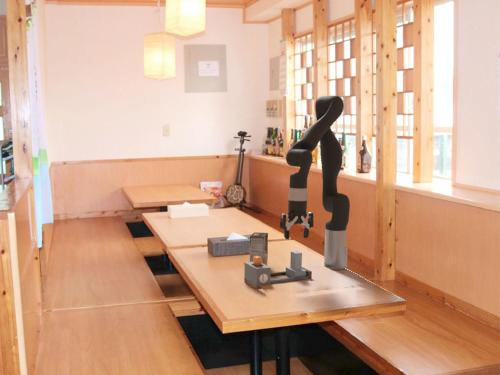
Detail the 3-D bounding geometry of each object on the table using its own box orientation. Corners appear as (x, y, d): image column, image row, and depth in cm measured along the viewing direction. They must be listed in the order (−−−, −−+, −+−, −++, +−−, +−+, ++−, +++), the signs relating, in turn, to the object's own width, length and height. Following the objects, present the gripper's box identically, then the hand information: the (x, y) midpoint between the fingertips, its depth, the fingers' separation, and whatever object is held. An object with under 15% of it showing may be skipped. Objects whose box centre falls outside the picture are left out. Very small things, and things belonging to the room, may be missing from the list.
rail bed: (298, 275, 270) (298, 265, 270) (312, 282, 260) (312, 271, 260) (244, 282, 260) (244, 271, 259) (256, 289, 250) (256, 277, 249)
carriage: (296, 273, 268) (296, 249, 267) (306, 278, 261) (306, 253, 259) (285, 274, 266) (286, 250, 264) (295, 279, 259) (295, 254, 257)
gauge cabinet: (257, 276, 262) (258, 261, 261) (270, 284, 252) (271, 267, 251) (244, 278, 259) (244, 262, 259) (256, 285, 249) (257, 269, 248)
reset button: (259, 263, 257) (259, 255, 257) (262, 265, 254) (263, 257, 254) (252, 263, 256) (252, 256, 255) (255, 265, 253) (255, 258, 252)
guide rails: (295, 272, 269) (295, 270, 269) (308, 279, 260) (308, 276, 260) (258, 277, 262) (258, 274, 262) (270, 283, 252) (270, 280, 252)
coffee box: (253, 268, 282) (253, 231, 280) (267, 268, 281) (268, 232, 279) (249, 273, 273) (249, 235, 271) (263, 274, 272) (264, 236, 270)
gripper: (308, 197, 266) (306, 235, 268) (277, 198, 260) (276, 237, 262) (317, 199, 259) (316, 239, 261) (286, 200, 253) (285, 241, 255)
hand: (296, 238), depth 261 cm, fingers open, 8 cm apart
